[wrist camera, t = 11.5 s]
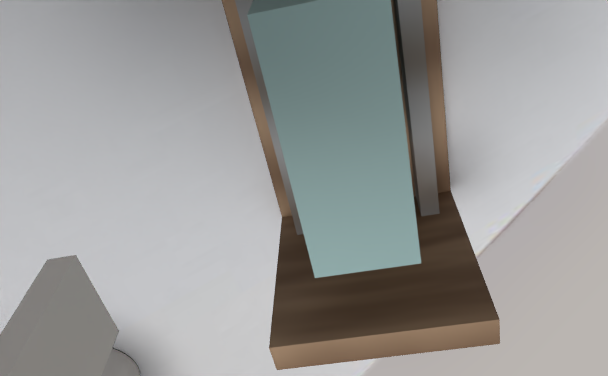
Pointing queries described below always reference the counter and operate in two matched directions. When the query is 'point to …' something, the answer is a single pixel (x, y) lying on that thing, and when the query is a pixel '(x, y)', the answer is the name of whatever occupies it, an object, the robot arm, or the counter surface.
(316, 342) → the wooden book rack
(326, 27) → the door panel
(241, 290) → the counter surface
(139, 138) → the counter surface
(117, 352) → the coffee cup
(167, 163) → the counter surface
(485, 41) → the counter surface
